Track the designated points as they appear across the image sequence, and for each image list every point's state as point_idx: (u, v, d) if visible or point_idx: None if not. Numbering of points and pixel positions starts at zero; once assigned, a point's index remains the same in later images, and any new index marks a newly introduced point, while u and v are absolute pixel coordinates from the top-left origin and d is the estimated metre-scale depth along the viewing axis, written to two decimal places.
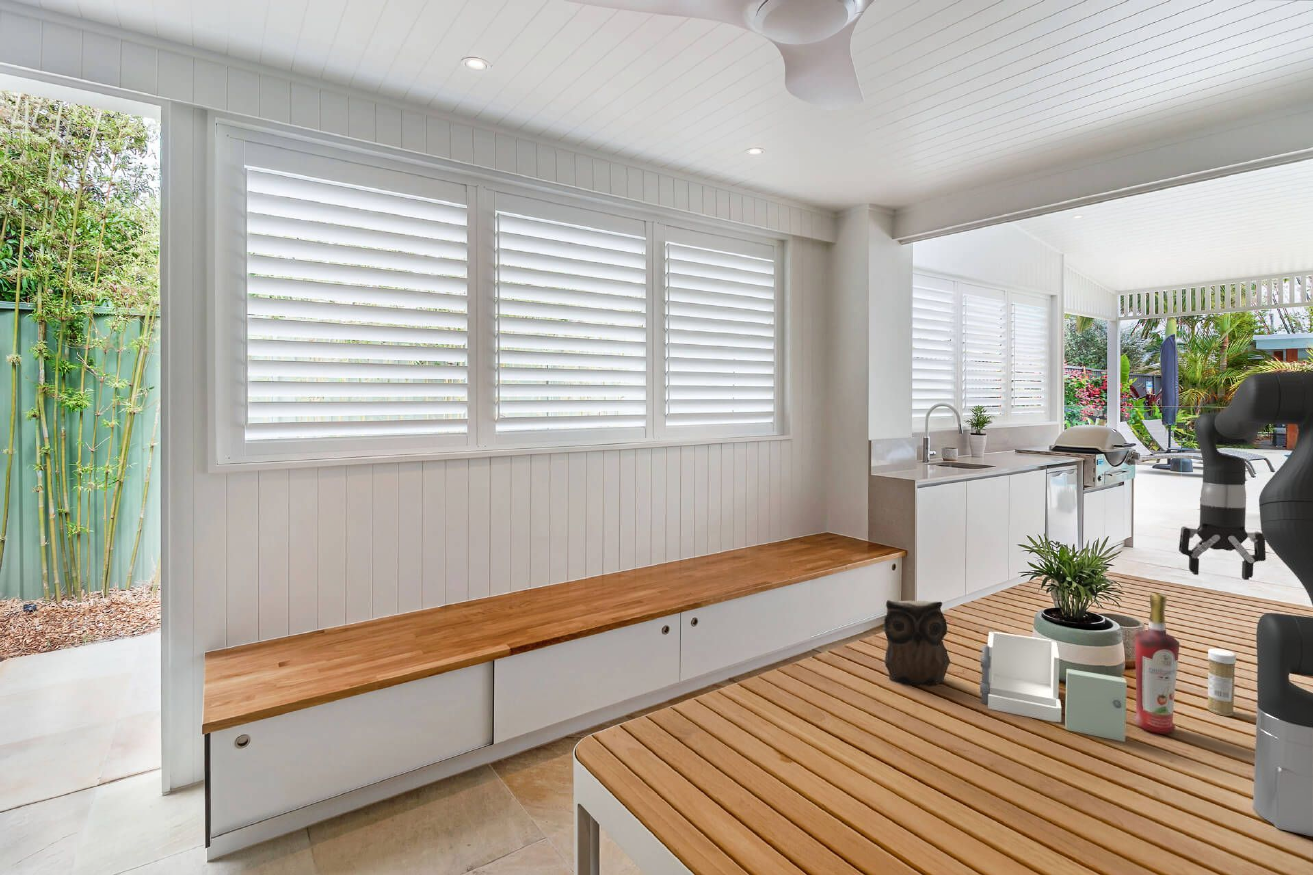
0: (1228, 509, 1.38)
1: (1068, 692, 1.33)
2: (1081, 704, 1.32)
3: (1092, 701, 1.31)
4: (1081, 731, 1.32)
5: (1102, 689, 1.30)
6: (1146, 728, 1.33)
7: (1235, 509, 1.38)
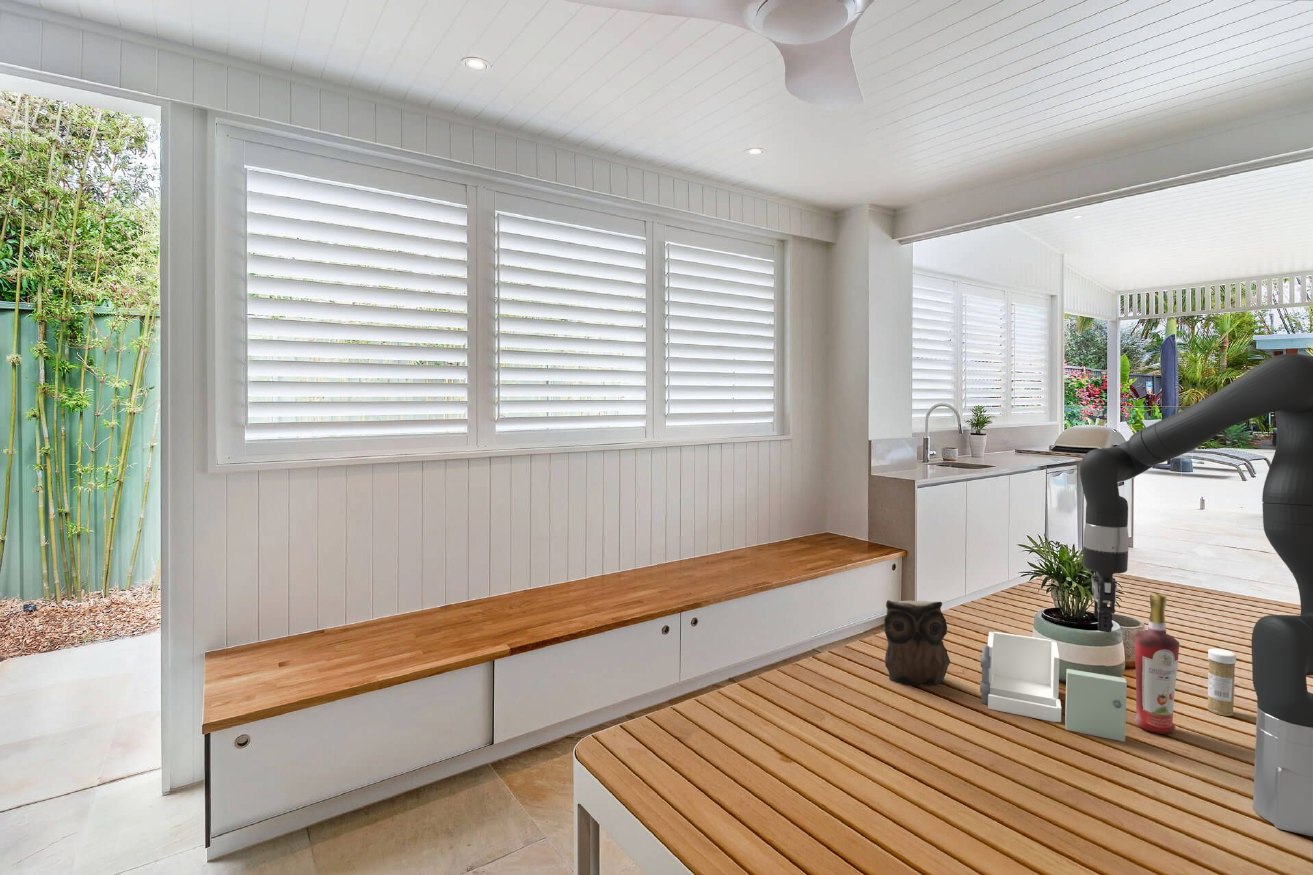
0: None
1: (1068, 692, 1.33)
2: (1081, 704, 1.32)
3: (1092, 701, 1.31)
4: (1081, 731, 1.32)
5: (1102, 689, 1.30)
6: (1146, 728, 1.33)
7: None
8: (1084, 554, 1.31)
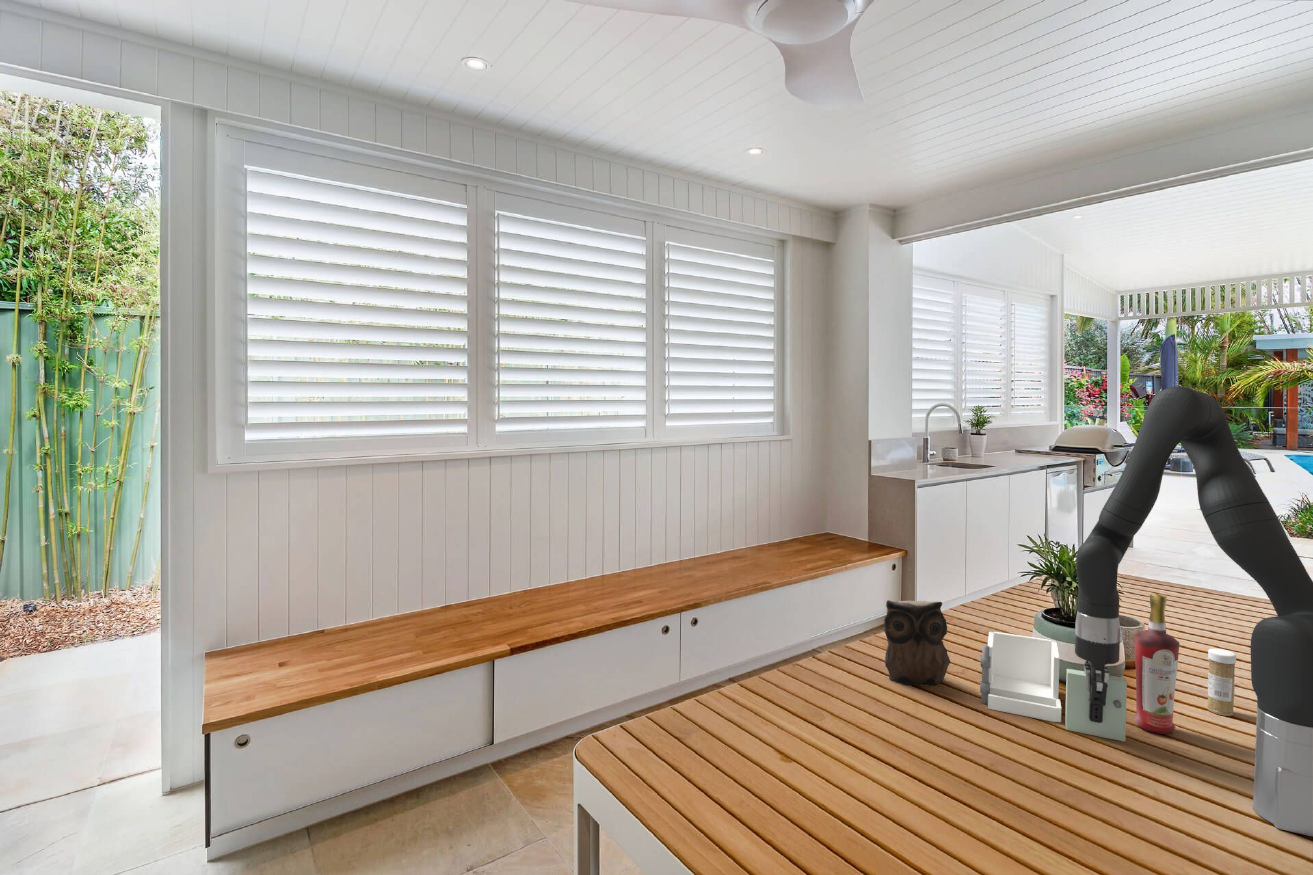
0: None
1: (1068, 692, 1.33)
2: (1081, 704, 1.32)
3: None
4: (1081, 731, 1.32)
5: None
6: (1146, 728, 1.33)
7: None
8: (1076, 642, 1.32)
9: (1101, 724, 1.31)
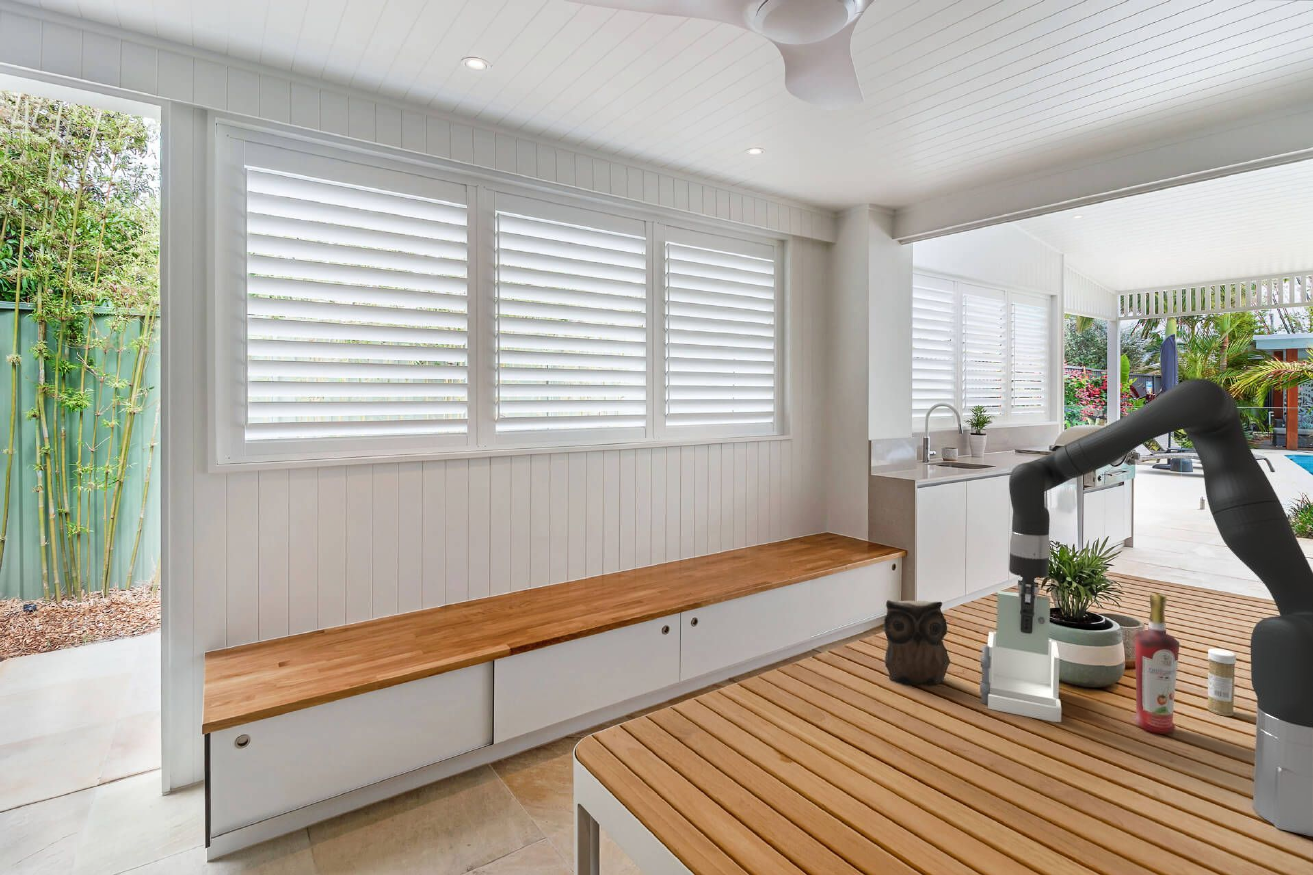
0: None
1: (998, 611, 1.43)
2: (1009, 622, 1.42)
3: (1019, 619, 1.41)
4: (1009, 647, 1.42)
5: None
6: (1146, 728, 1.33)
7: None
8: (1010, 560, 1.42)
9: (1027, 640, 1.41)
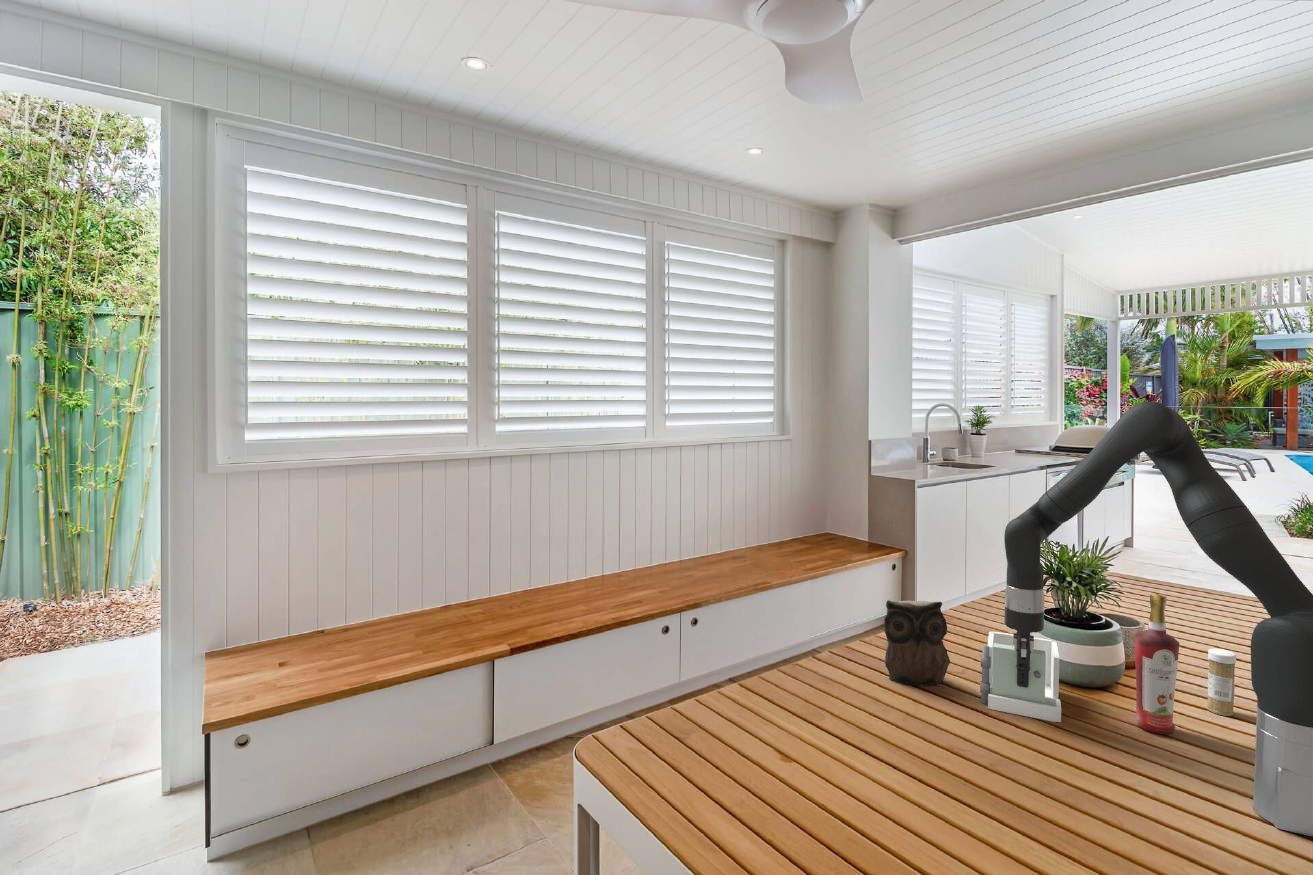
0: None
1: (994, 664, 1.43)
2: (1005, 675, 1.42)
3: (1015, 672, 1.42)
4: None
5: None
6: (1146, 728, 1.33)
7: None
8: (1005, 613, 1.42)
9: (1023, 694, 1.41)
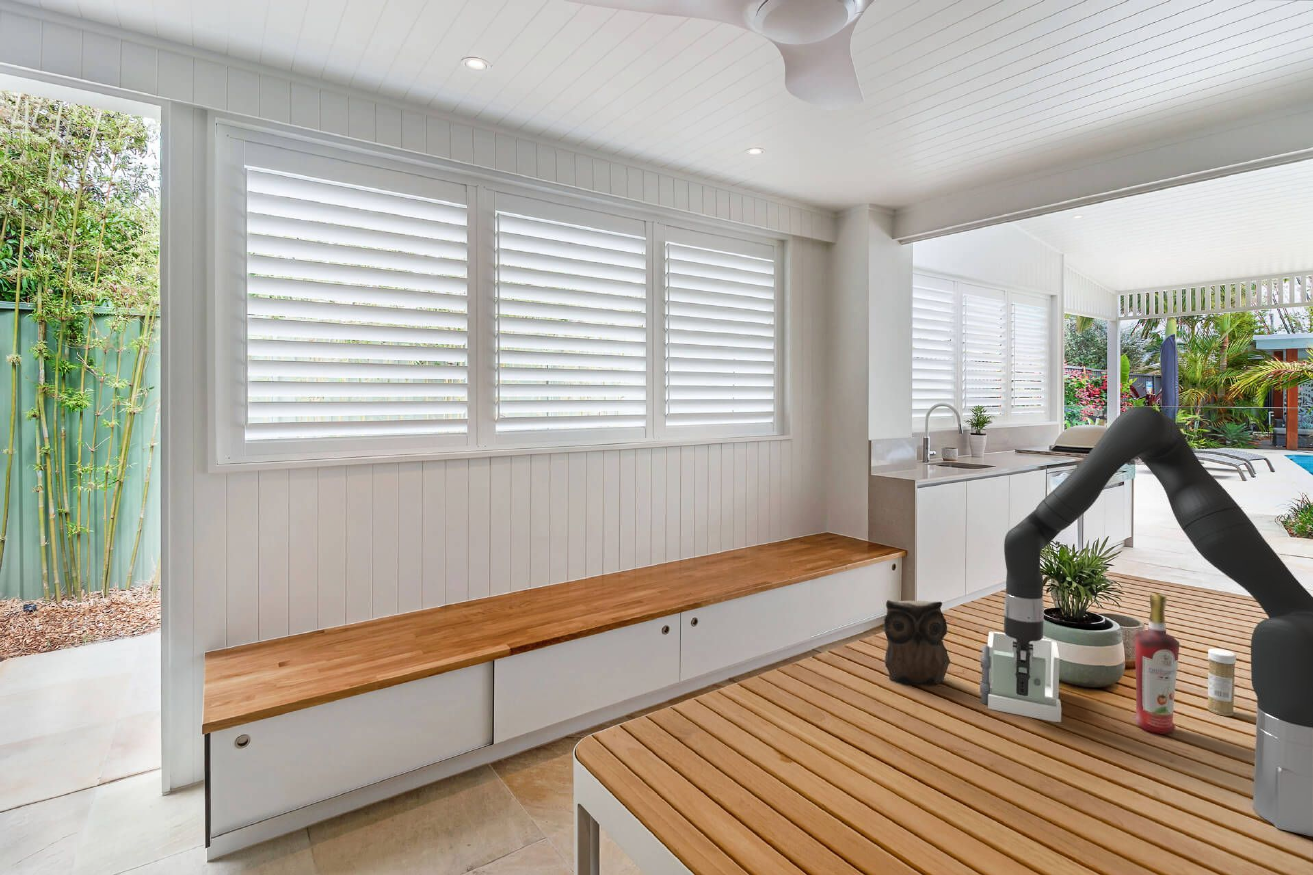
0: None
1: (994, 671, 1.44)
2: (1005, 682, 1.43)
3: (1015, 680, 1.42)
4: None
5: (1024, 668, 1.41)
6: (1146, 728, 1.33)
7: None
8: (1004, 622, 1.42)
9: None
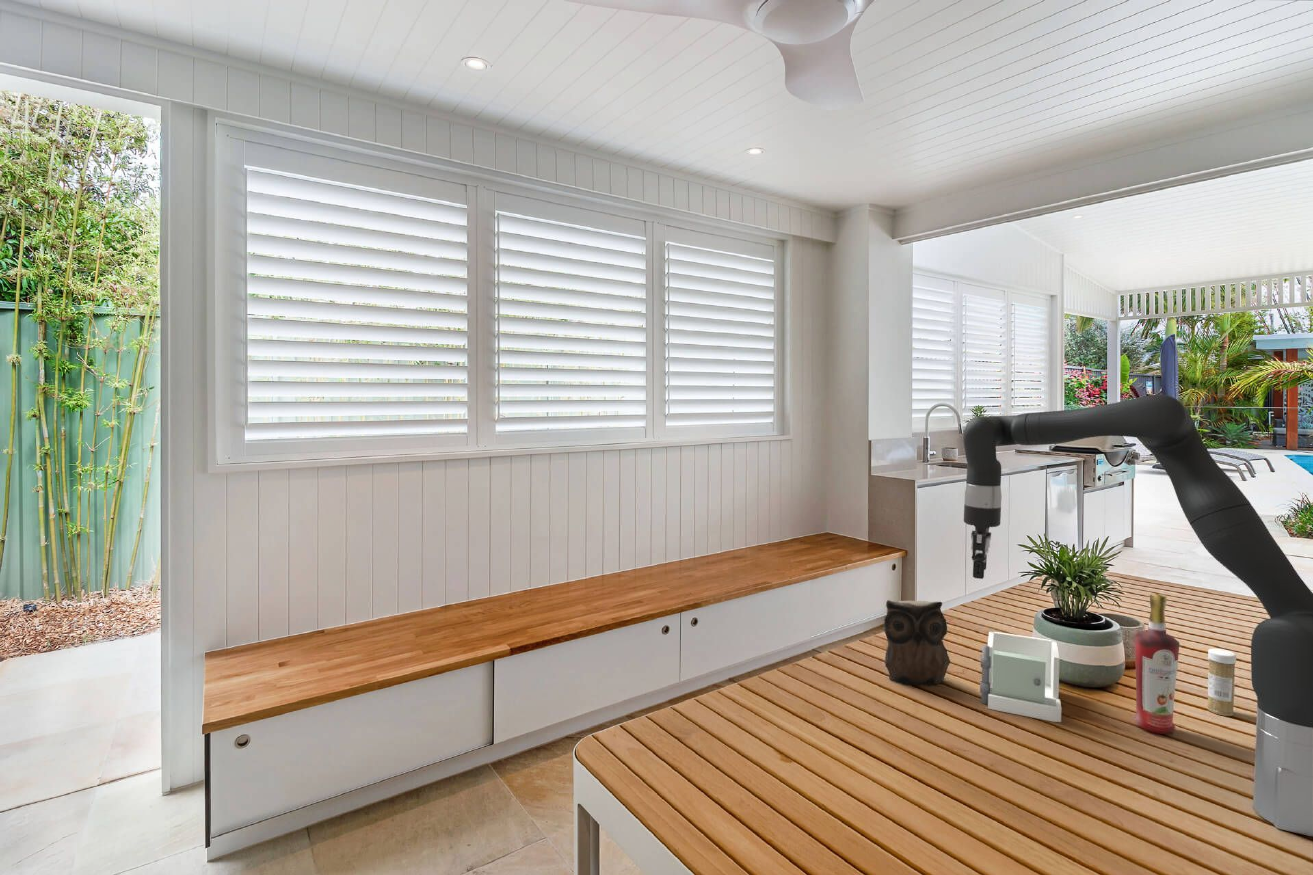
0: (1000, 508, 1.46)
1: (994, 671, 1.44)
2: (1005, 682, 1.43)
3: (1015, 680, 1.42)
4: None
5: (1024, 668, 1.41)
6: (1146, 728, 1.33)
7: None
8: (964, 511, 1.48)
9: None
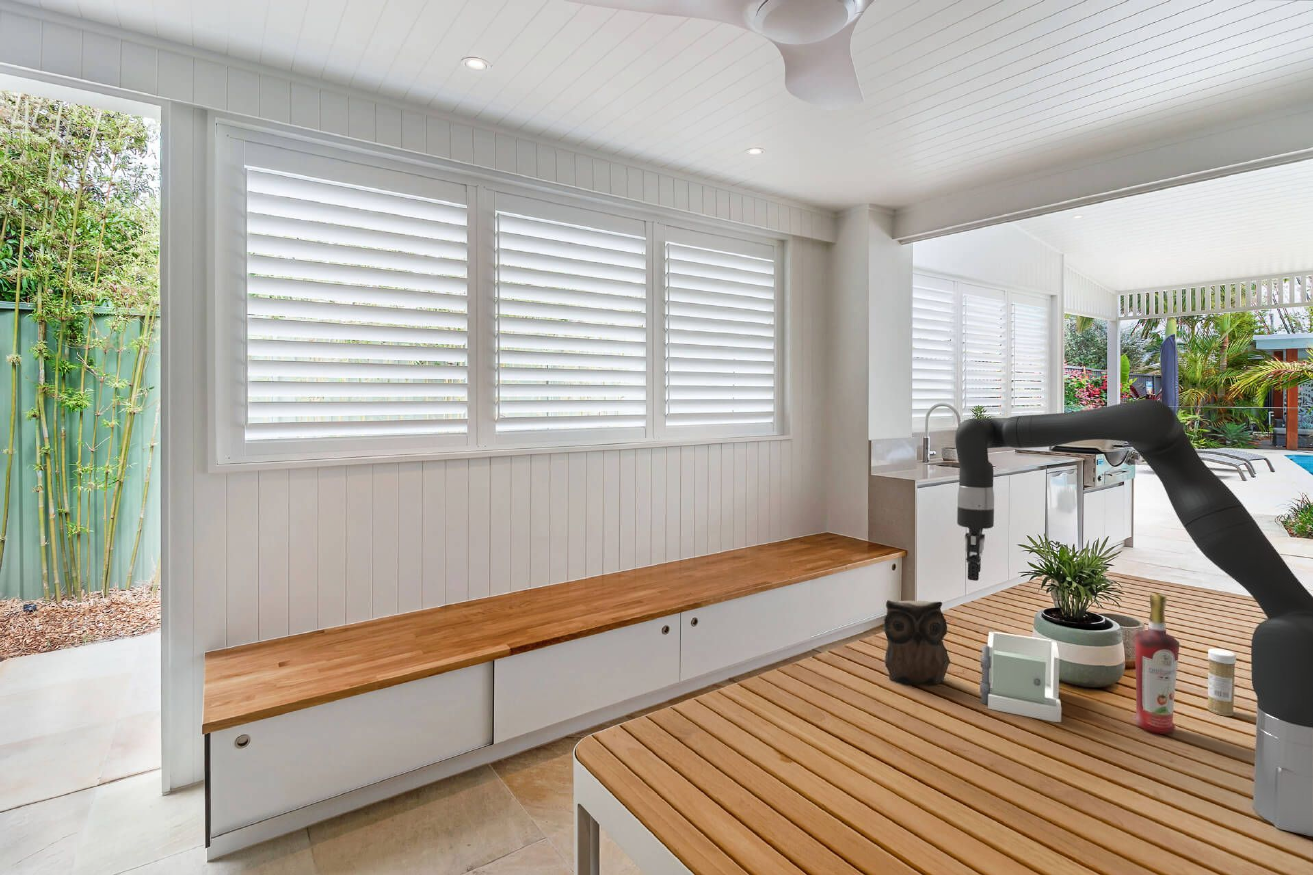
0: (993, 510, 1.46)
1: (994, 671, 1.44)
2: (1005, 682, 1.43)
3: (1015, 680, 1.42)
4: None
5: (1024, 668, 1.41)
6: (1146, 728, 1.33)
7: None
8: (958, 513, 1.48)
9: None
